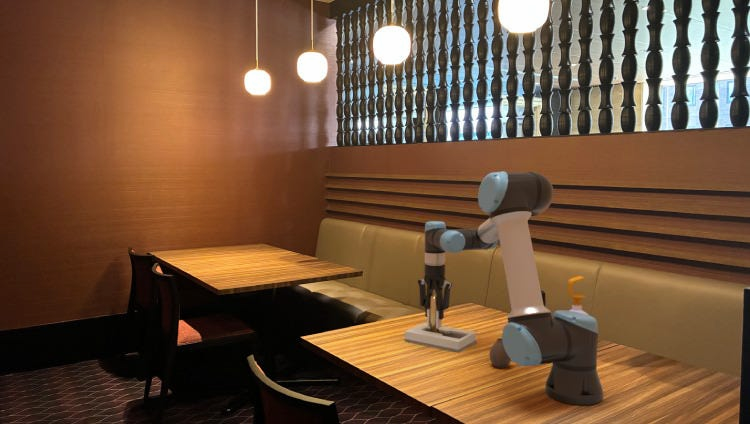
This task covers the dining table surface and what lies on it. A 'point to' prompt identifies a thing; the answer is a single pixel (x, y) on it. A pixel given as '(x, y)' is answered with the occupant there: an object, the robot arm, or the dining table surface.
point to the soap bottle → (575, 296)
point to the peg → (433, 314)
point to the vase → (499, 355)
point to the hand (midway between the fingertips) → (434, 326)
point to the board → (441, 337)
